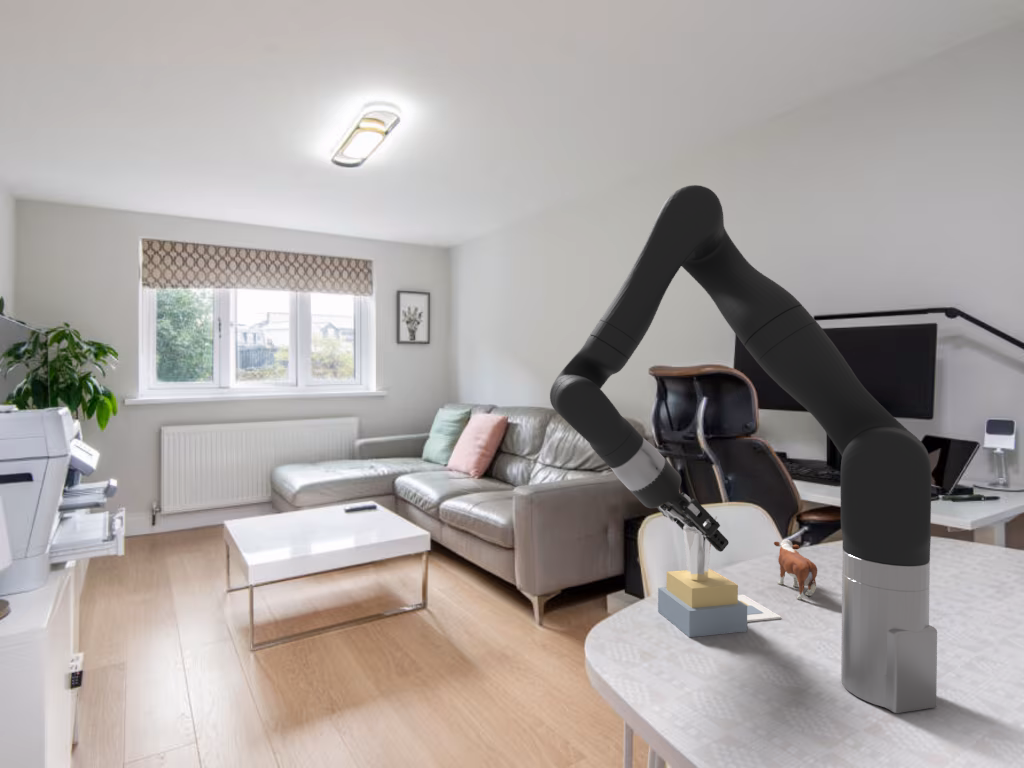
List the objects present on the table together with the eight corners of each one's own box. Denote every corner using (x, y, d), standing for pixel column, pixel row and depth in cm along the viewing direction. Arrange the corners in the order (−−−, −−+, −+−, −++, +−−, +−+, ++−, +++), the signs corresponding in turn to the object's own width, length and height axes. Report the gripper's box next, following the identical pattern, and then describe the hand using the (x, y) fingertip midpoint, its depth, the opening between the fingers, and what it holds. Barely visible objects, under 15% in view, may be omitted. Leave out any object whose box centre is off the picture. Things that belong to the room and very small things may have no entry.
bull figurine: (792, 577, 114) (792, 537, 114) (822, 604, 101) (822, 557, 101) (769, 577, 115) (769, 536, 115) (796, 602, 101) (796, 556, 101)
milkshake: (721, 582, 91) (721, 519, 91) (687, 582, 91) (687, 519, 91) (711, 573, 95) (712, 513, 95) (679, 573, 96) (679, 513, 95)
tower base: (747, 631, 89) (747, 586, 89) (689, 637, 87) (689, 591, 87) (710, 606, 99) (711, 566, 99) (658, 611, 97) (658, 570, 97)
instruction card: (781, 618, 94) (781, 616, 94) (743, 622, 93) (743, 620, 93) (743, 596, 104) (743, 594, 104) (708, 599, 102) (708, 597, 102)
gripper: (683, 460, 84) (750, 534, 87) (640, 449, 98) (699, 512, 101) (649, 497, 83) (719, 571, 86) (610, 481, 97) (672, 544, 100)
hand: (708, 539), depth 93 cm, fingers open, 8 cm apart
